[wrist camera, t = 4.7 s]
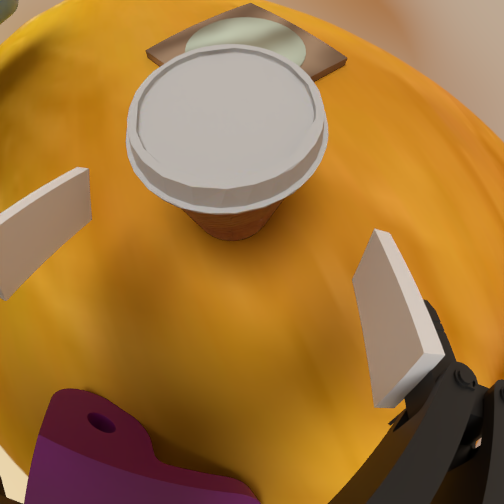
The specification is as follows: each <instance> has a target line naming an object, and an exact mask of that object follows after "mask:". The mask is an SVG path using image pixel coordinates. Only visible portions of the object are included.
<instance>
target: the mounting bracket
mask: <svg viewBox="0 0 504 504" xmlns="http://www.w3.org/2000/svg"><path fill="white" fill-rule="evenodd" d="M24 504H261V503H260V502H259V501H258V499H257V498H256V497H255V495H254V494H253V492H252V491H251V490H250V488H249V487H248V486H247V485H246V484H244V483H243V482H241V481H239V480H237V479H234V478H231V477H225V476H219V475H213V474H208V473H203V472H198V471H193V470H188V469H184V468H180V467H175V466H171V465H168V464H165V463H162V462H161V461H159V460H158V459H157V458H156V457H155V455H154V451H153V447H152V443H151V439H150V437H149V435H148V433H147V431H146V430H145V428H144V427H143V426H142V425H141V424H140V423H139V422H138V421H137V420H136V419H135V418H134V417H133V416H131V415H130V414H128V413H126V412H125V411H123V410H122V409H120V408H119V407H118V406H116V405H115V404H113V403H112V402H110V401H109V400H107V399H105V398H103V397H101V396H99V395H96V394H93V393H91V392H88V391H84V390H79V389H62V390H59V391H57V392H56V393H55V394H54V395H53V396H52V398H51V401H50V403H49V406H48V409H47V411H46V414H45V417H44V420H43V423H42V426H41V429H40V432H39V435H38V438H37V442H36V446H35V450H34V454H33V459H32V463H31V468H30V473H29V478H28V483H27V489H26V495H25V502H24Z"/></svg>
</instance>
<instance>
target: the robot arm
mask: <svg viewBox="0 0 504 504" xmlns="http://www.w3.org/2000/svg"><path fill="white" fill-rule="evenodd" d="M17 7H18V0H0V24H1V23H2V22H4V21H5V20H6V19H7V18H9V17H10V16H11V15H12V14H13V13H14V12H15V11H16V9H17ZM91 220H92V214H91V201H90V184H89V169H88V168H81V167H77V168H75V169H73V170H71V171H69V172H67V173H65V174H63V175H62V176H60V177H58V178H56V179H54V180H53V181H51V182H49V183H48V184H46V185H44V186H42V187H41V188H39V189H37V190H36V191H34V192H32V193H31V194H29V195H28V196H26V197H24V198H23V199H21V200H20V201H18V202H17V203H15V204H14V205H12V206H11V207H9V208H8V209H6V210H5V211H3V212H2V213H0V298H1V299H3V300H5V301H7V300H8V299H9V298H10V297H11V295H12V294H13V293H14V292H15V291H16V290H17V289H18V288H19V287H20V286H21V285H22V284H23V283H24V282H25V281H26V280H27V279H28V278H29V277H30V276H31V275H32V274H33V273H34V272H35V271H36V270H37V269H38V268H39V267H40V266H41V265H42V264H43V263H44V262H45V261H46V260H47V259H48V258H49V257H50V256H51V255H52V254H53V253H54V252H56V251H57V250H58V249H59V248H60V247H61V246H62V245H63V244H64V243H65V242H67V241H68V240H69V239H70V238H71V237H72V236H73V235H75V234H76V233H77V232H78V231H79V230H80V229H81V228H83V227H84V226H85V225H86V224H87V223H89V222H90V221H91ZM352 282H353V286H354V291H355V295H356V300H357V305H358V310H359V315H360V320H361V325H362V330H363V336H364V341H365V347H366V353H367V359H368V365H369V372H370V379H371V386H372V394H373V402H374V407H379V408H395V407H396V406H397V405H398V404H399V403H400V402H401V401H402V400H403V399H404V398H405V403H406V408H405V409H404V410H403V411H402V412H401V413H400V414H399V415H397V416H396V417H395V418H394V419H393V420H392V421H391V422H389V423H388V424H389V425H390V426H391V425H392V424H393V423H394V424H393V425H392V427H391V428H390V430H389V431H388V432H387V434H386V435H385V437H384V438H383V439H382V441H381V442H380V443H379V445H378V446H377V447H376V449H375V450H374V451H373V453H372V454H371V455H370V456H369V458H368V459H367V460H366V462H365V463H364V464H363V465H362V466H361V468H360V469H359V470H358V471H357V472H356V474H355V475H354V476H353V477H352V478H351V479H350V480H349V482H348V483H347V484H346V485H345V486H344V487H343V488H342V489H341V490H340V491H339V493H338V494H337V495H336V496H335V497H334V498H333V499H332V500H331V501H330V502H329V503H328V504H504V380H502V379H501V380H498V381H497V382H496V383H495V384H494V385H493V386H492V387H491V388H490V389H489V388H487V387H484V386H481V385H479V384H478V382H477V379H476V376H475V375H474V373H473V371H472V370H471V369H470V368H469V367H468V366H466V365H465V364H463V363H460V362H456V359H455V356H454V354H453V351H452V348H451V346H450V343H449V341H448V338H447V336H446V334H445V332H444V329H443V326H442V324H440V319H439V317H438V315H437V313H436V311H435V309H434V308H433V307H432V306H431V305H430V303H429V302H428V301H427V300H423V299H422V297H421V294H420V292H419V290H418V288H417V286H416V284H415V281H414V279H413V277H412V275H411V273H410V271H409V269H408V267H407V265H406V263H405V261H404V259H403V257H402V255H401V253H400V251H399V249H398V248H397V246H396V244H395V242H394V240H393V238H392V236H391V235H390V233H388V232H385V231H381V230H378V229H374V230H373V233H372V235H371V238H370V240H369V242H368V245H367V247H366V250H365V252H364V254H363V256H362V259H361V261H360V263H359V266H358V268H357V270H356V272H355V274H354V277H353V279H352ZM481 437H482V439H481V445H480V446H479V447H477V448H475V444H476V441H477V440H478V439H480V438H481ZM0 504H22V503H20V502H17V501H14V500H12V499H9V498H7V497H6V495H5V491H4V487H3V484H2V480H1V477H0Z"/></svg>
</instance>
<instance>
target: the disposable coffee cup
mask: <svg viewBox="0 0 504 504" xmlns="http://www.w3.org/2000/svg"><path fill="white" fill-rule="evenodd" d="M327 141H328V124H327V119H326V114H325V111H324V105H323V102H322V98H321V95H320V92H319V90H318V88H317V87H316V85H315V84H314V82H313V81H312V79H311V78H310V76H309V75H308V74H307V73H306V72H305V71H304V70H303V69H302V68H300V67H299V66H298V65H297V64H295V63H294V62H292V61H291V60H289V59H287V58H286V57H284V56H282V55H280V54H278V53H275V52H273V51H270V50H267V49H264V48H260V47H255V46H250V45H241V44H220V45H212V46H206V47H201V48H198V49H194V50H191V51H188V52H186V53H183V54H181V55H179V56H176V57H174V58H173V59H171V60H170V61H168V62H167V63H165V64H164V65H162V66H161V67H159V68H158V69H156V70H155V71H153V72H152V73H151V74H150V75H149V76H148V77H147V78H146V79H145V81H144V82H143V83H142V85H141V86H140V87H139V89H138V90H137V91H136V93H135V95H134V98H133V100H132V103H131V105H130V107H129V113H128V118H127V133H126V147H127V153H128V158H129V160H130V163H131V165H132V168H133V170H134V172H135V174H136V175H137V176H138V177H139V178H140V180H141V181H142V182H143V183H144V184H145V186H146V187H147V188H148V189H149V190H150V191H152V192H153V193H154V194H156V195H157V196H158V197H160V198H161V199H163V200H165V201H166V202H168V203H170V204H172V205H174V206H176V207H179V208H181V209H182V210H183V211H184V212H186V213H187V215H189V216H190V217H191V218H192V219H193V220H194V221H195V222H196V223H197V224H198V225H199V226H200V227H201V228H202V229H203V230H204V231H205V232H207V233H208V234H210V235H212V236H213V237H215V238H218V239H222V240H227V241H236V240H241V239H245V238H248V237H250V236H252V235H254V234H255V233H257V232H258V231H259V230H260V229H261V228H262V227H263V226H264V225H265V224H266V222H267V221H268V220H269V218H270V217H271V216H272V214H273V213H274V212H275V210H276V209H277V208H278V206H279V205H280V204H281V202H282V201H283V200H284V198H285V197H287V196H289V195H291V194H293V193H294V192H295V191H296V190H297V189H298V188H300V187H301V186H302V185H303V184H304V183H305V182H306V181H307V180H308V179H309V178H310V177H311V176H312V175H313V173H314V172H315V170H316V168H317V167H318V165H319V164H320V162H321V160H322V158H323V155H324V152H325V150H326V147H327Z"/></svg>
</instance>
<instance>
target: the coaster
mask: <svg viewBox="0 0 504 504" xmlns="http://www.w3.org/2000/svg"><path fill="white" fill-rule="evenodd" d="M220 44H241V45H250V46H255V47H260V48H264V49H267V50H270V51H273V52H275V53H278V54H280V55H282V56H284V57H286V58H287V59H289V60H291V61H292V62H294V63H295V64H297V65H298V66H299V67H300V68H302V69H303V70H304V71H305V72H306V73H307V74H308V75H309V76H310V78H311V79H312V81H313V82H314V81H316V80H318V79H320V78H322V77H323V76H325V75H327V74H329V73H331V72H333V71H334V70H336V69H338V68H340V67H342V66H344V65H345V63H346V61H347V57H345V56H344V55H342V54H341V53H339V52H338V51H337V50H335V49H334V48H332V47H330V46H329V45H327V44H326V43H324V42H323V41H321V40H319V39H318V38H316V37H315V36H313V35H311V34H310V33H308V32H306V31H304V30H303V29H301V28H299V27H297V26H296V25H294V24H292V23H290V22H288V21H286V20H285V19H283V18H281V17H279V16H277V15H275V14H273V13H271V12H269V11H267V10H265V9H263V8H260V7H258V6H256V5H254V4H252V3H249V4H246V5H243V6H240V7H238V8H235V9H232V10H229V11H227V12H224V13H222V14H219V15H217V16H214V17H212V18H210V19H207V20H205V21H203V22H200V23H198V24H196V25H194V26H192V27H189V28H187V29H185V30H183V31H181V32H179V33H177V34H175V35H173V36H171V37H169V38H167V39H165V40H164V41H162V42H160V43H158V44H156V45H154V46H153V47H151V48H149V49H147V50H146V54H147V57H148V58H149V59H150V60H152V61H153V62H155V63H156V64H157V65H159V66H160V67H161V66H162V65H164V64H165V63H167V62H168V61H170V60H171V59H173V58H174V57H176V56H179V55H181V54H183V53H186V52H188V51H191V50H194V49H198V48H201V47H206V46H212V45H220Z"/></svg>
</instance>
